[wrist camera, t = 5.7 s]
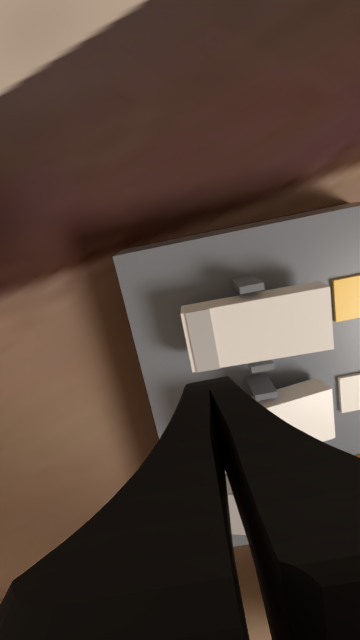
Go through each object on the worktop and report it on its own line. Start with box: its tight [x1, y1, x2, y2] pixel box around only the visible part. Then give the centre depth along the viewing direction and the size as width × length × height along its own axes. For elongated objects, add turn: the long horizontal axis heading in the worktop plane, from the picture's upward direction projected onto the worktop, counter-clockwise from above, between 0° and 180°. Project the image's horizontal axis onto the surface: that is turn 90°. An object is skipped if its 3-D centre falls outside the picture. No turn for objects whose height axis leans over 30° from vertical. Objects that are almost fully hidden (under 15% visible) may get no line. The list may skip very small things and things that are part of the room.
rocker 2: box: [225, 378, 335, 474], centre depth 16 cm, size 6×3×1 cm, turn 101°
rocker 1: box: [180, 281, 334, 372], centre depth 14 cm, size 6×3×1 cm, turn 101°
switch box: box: [112, 202, 360, 547], centre depth 18 cm, size 12×18×5 cm, turn 11°
